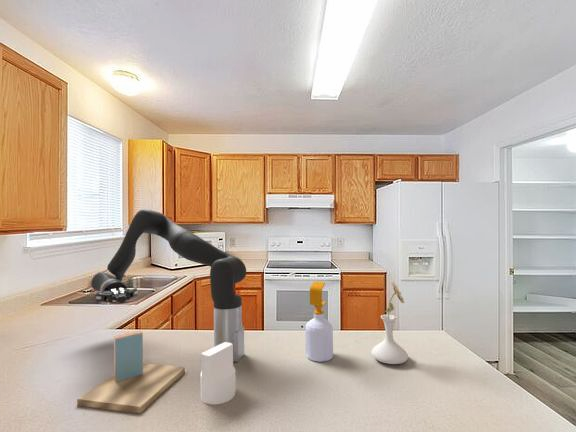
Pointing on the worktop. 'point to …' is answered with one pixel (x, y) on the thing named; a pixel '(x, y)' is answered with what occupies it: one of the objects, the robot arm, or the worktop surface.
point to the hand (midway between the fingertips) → (122, 299)
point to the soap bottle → (318, 329)
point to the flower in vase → (390, 338)
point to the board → (132, 389)
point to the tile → (128, 355)
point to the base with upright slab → (217, 374)
